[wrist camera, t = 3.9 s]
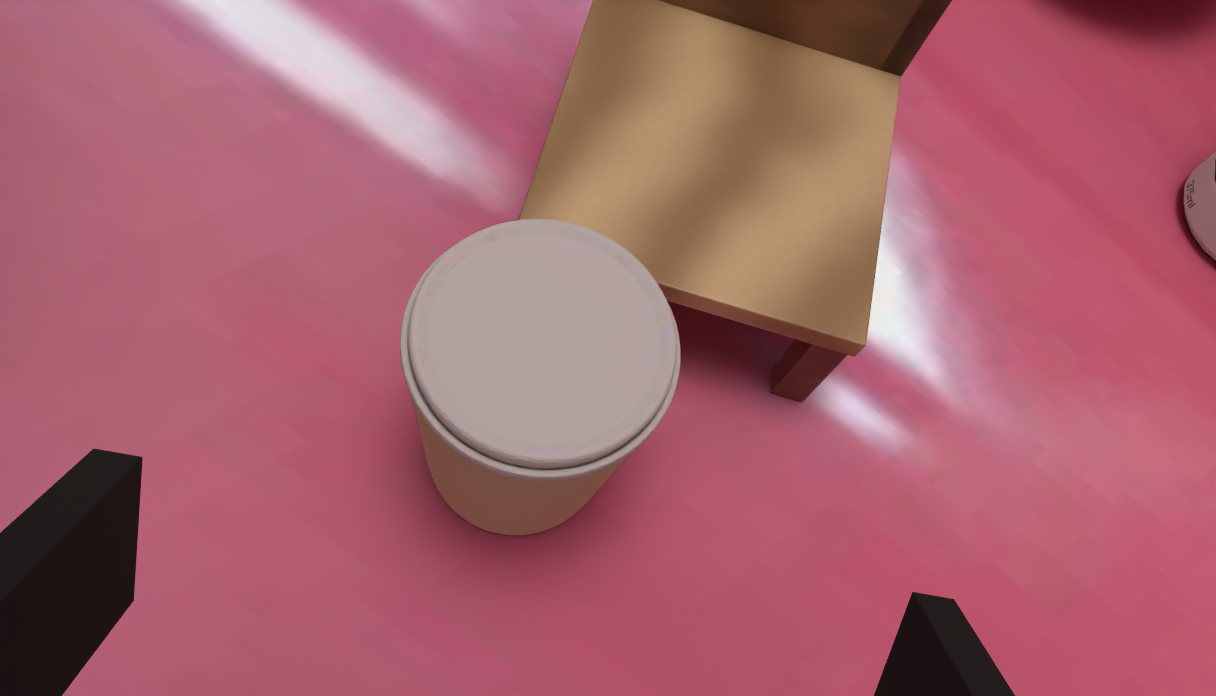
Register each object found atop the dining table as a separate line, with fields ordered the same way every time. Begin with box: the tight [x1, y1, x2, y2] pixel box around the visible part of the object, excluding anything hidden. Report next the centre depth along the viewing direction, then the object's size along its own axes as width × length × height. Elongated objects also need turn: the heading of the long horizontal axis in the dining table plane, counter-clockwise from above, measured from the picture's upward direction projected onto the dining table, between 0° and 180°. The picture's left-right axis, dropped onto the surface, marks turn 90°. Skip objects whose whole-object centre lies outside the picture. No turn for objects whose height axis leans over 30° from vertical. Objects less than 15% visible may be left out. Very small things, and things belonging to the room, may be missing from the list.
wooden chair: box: [519, 0, 952, 402], centre depth 42 cm, size 15×16×14 cm
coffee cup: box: [400, 219, 680, 535], centre depth 37 cm, size 9×9×12 cm
